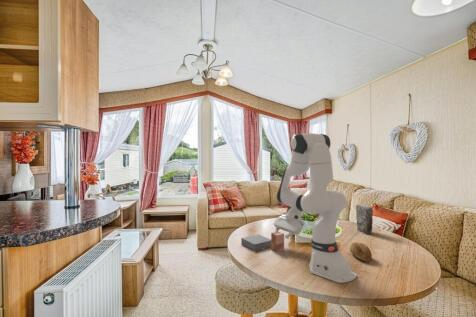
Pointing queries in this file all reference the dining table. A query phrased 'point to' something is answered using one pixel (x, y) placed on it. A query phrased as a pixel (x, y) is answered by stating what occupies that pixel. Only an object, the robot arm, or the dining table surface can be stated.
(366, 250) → the bread roll
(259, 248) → the base block
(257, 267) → the dining table surface
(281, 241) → the terracotta block
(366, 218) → the stone block
